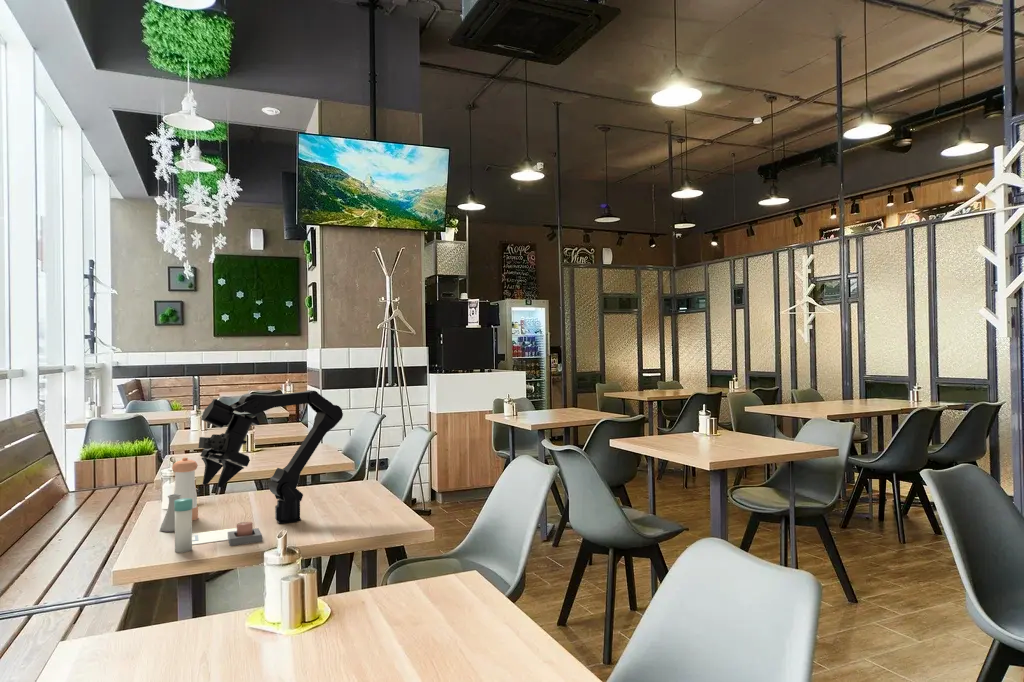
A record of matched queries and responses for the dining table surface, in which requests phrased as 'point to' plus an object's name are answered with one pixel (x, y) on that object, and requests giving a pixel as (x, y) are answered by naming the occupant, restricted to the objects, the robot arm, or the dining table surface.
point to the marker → (183, 524)
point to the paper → (211, 536)
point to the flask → (170, 515)
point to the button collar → (244, 537)
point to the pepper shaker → (186, 482)
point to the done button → (244, 529)
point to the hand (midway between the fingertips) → (211, 485)
